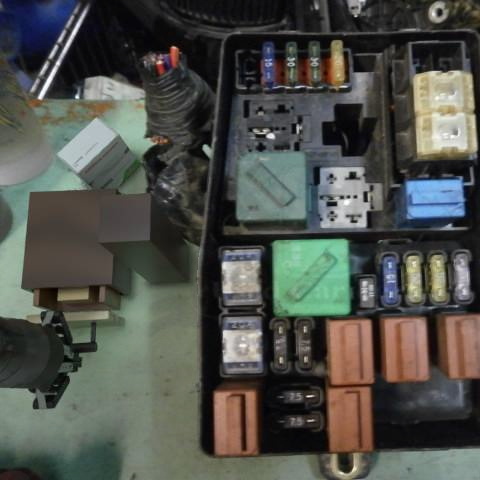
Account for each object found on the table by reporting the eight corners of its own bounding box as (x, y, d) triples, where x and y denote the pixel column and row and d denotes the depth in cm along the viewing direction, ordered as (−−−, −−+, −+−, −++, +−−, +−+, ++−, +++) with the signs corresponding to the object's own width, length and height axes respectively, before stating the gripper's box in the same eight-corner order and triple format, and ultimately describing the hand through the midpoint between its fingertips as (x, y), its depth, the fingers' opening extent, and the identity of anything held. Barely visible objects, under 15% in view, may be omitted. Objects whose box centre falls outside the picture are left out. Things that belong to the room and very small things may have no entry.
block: (98, 304, 83) (88, 299, 79) (69, 305, 82) (57, 300, 78) (100, 276, 84) (89, 269, 80) (71, 277, 84) (59, 271, 79)
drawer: (123, 353, 82) (107, 349, 75) (46, 358, 81) (22, 354, 74) (127, 241, 87) (112, 227, 80) (54, 245, 86) (33, 231, 79)
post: (189, 282, 86) (150, 240, 63) (151, 284, 86) (97, 243, 63) (189, 246, 88) (151, 192, 65) (151, 248, 88) (100, 194, 65)
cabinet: (130, 295, 85) (112, 284, 77) (49, 300, 85) (20, 288, 76) (133, 208, 89) (116, 188, 81) (55, 212, 89) (29, 191, 80)
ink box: (121, 148, 92) (96, 113, 81) (142, 165, 92) (120, 132, 80) (83, 184, 90) (53, 153, 79) (105, 202, 89) (77, 173, 78)
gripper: (-13, 297, 62) (52, 318, 79) (-27, 417, 59) (44, 412, 75) (53, 294, 63) (104, 315, 79) (43, 413, 59) (99, 409, 76)
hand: (75, 362), depth 77 cm, fingers closed
